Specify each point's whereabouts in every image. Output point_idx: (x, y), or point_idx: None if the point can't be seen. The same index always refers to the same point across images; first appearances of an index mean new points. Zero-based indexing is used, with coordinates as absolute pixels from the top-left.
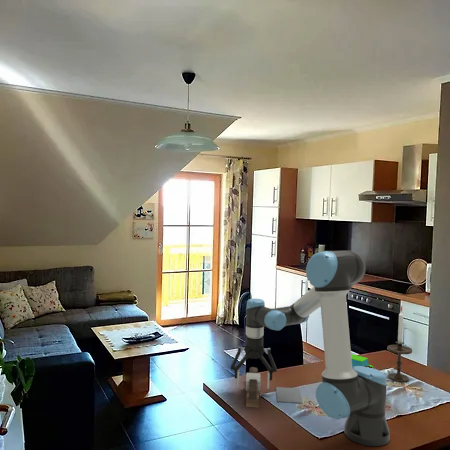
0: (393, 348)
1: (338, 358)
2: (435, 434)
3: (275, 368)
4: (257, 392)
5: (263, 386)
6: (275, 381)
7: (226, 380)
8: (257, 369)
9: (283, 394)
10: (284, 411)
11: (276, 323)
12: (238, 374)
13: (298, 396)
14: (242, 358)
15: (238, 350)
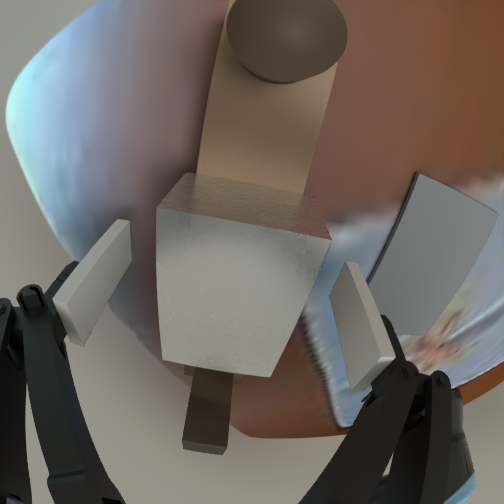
0: None
1: None
2: (496, 384)
3: (414, 422)
4: None
5: (345, 127)
6: (445, 70)
7: (83, 33)
8: (341, 54)
9: (407, 273)
10: (330, 374)
11: None
12: (88, 327)
13: (448, 292)
14: (40, 436)
15: None
